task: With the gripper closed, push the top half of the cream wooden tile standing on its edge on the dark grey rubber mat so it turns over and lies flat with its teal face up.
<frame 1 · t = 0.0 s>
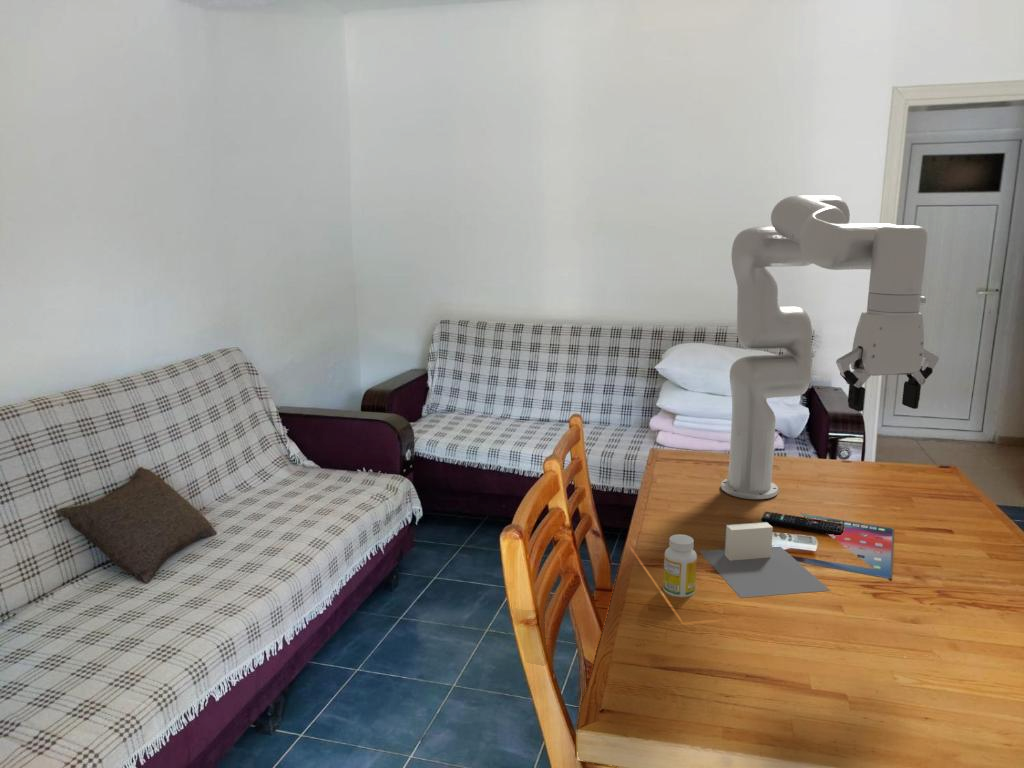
hand: (882, 408, 123), 31 cm above the table, tool pointing down, fingers open, 9 cm apart
supplement bottle: (679, 592, 127), on the table
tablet: (837, 546, 145), on the table
mat: (760, 571, 134), on the table
tile: (747, 556, 139), resting on mat
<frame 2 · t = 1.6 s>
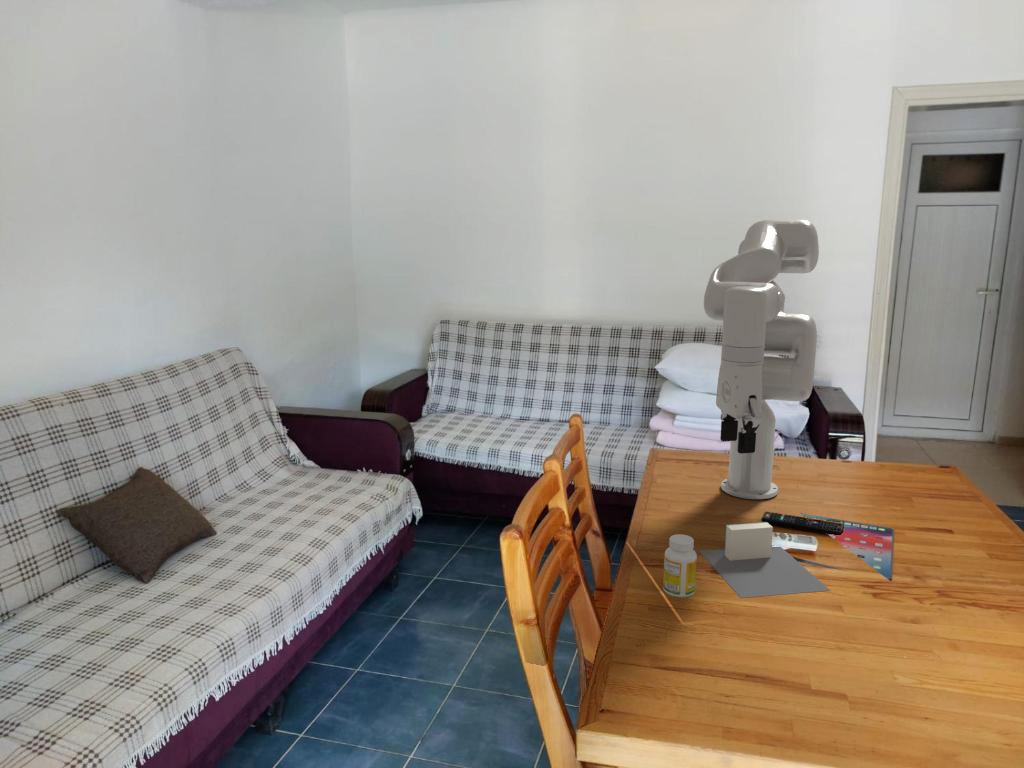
hand: (737, 445, 142), 20 cm above the table, tool pointing down, fingers open, 6 cm apart
nothing on the table moved.
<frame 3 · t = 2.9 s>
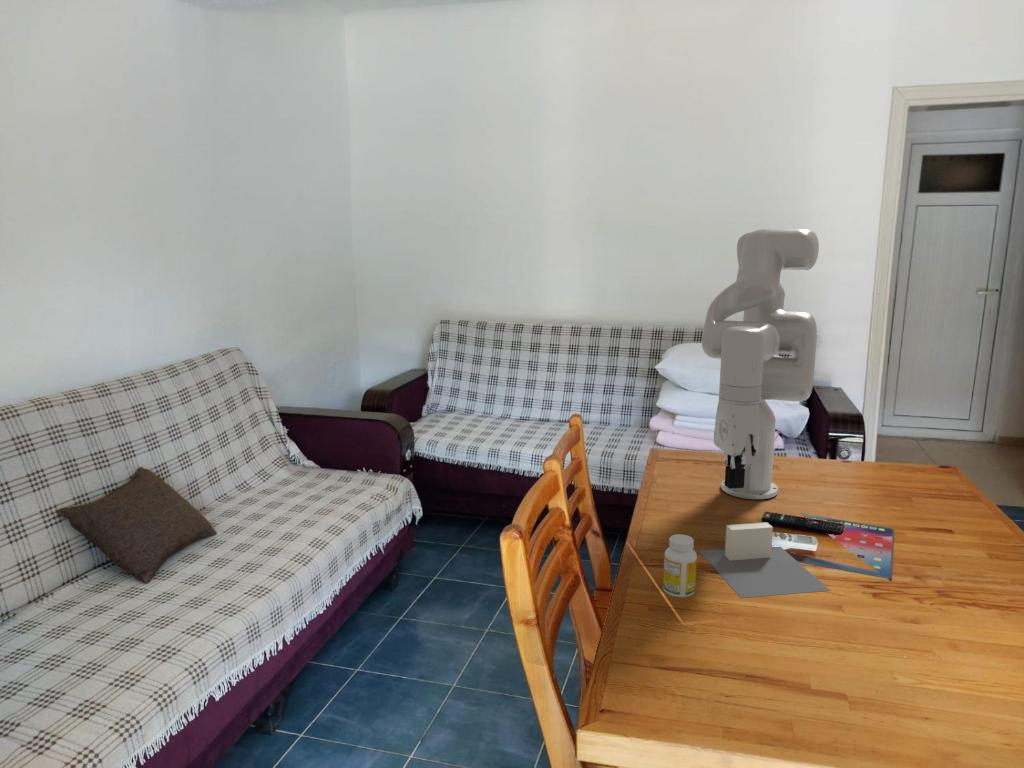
hand: (734, 486, 143), 12 cm above the table, tool pointing down, fingers closed
nothing on the table moved.
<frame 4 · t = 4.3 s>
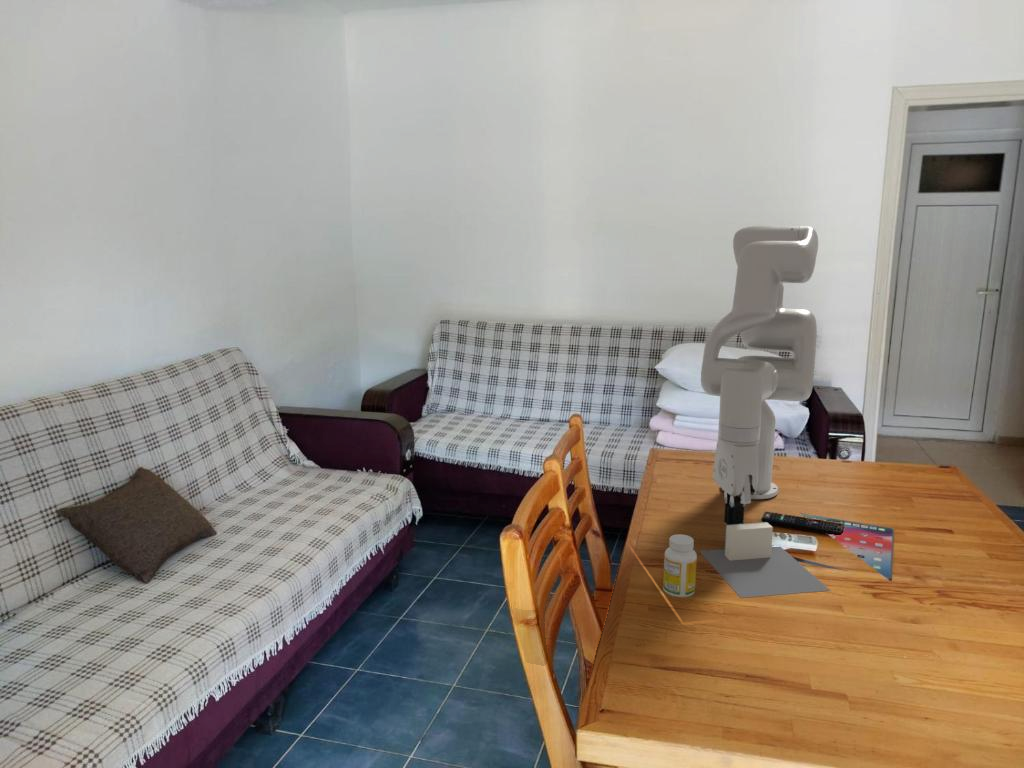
hand: (733, 523, 145), 4 cm above the table, tool pointing down, fingers closed
nothing on the table moved.
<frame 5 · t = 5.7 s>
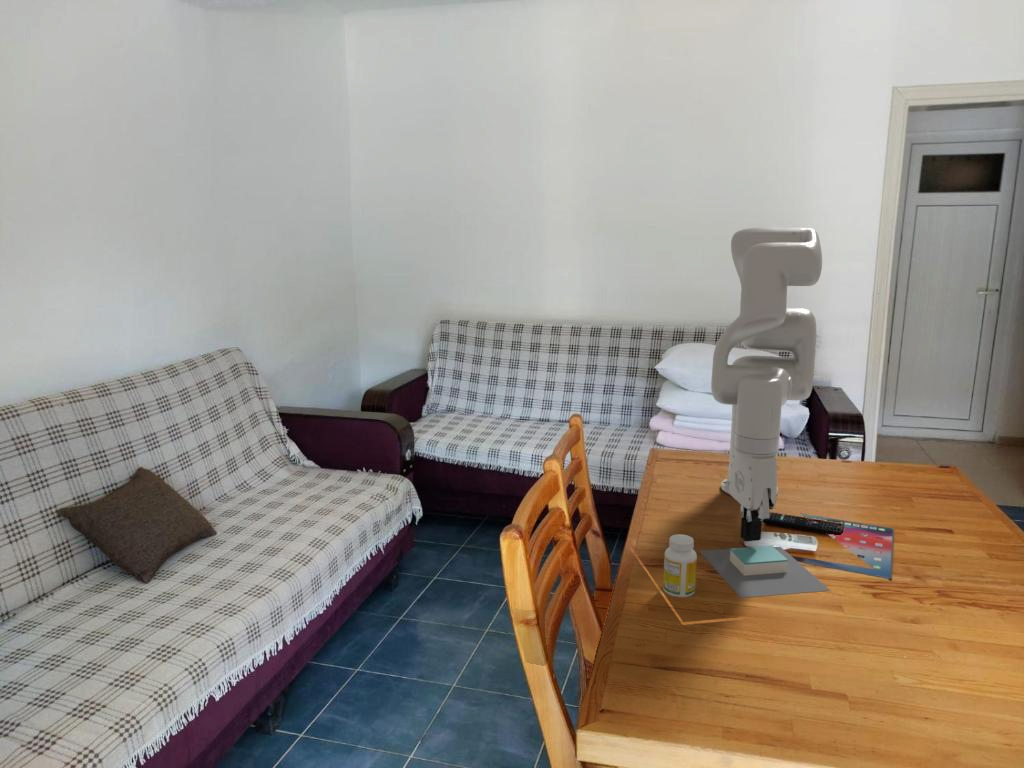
hand: (750, 538, 137), 4 cm above the table, tool pointing down, fingers closed
tile: (750, 553, 138), point 2 cm above the table, tilted 90°, touching mat
everything else where it was.
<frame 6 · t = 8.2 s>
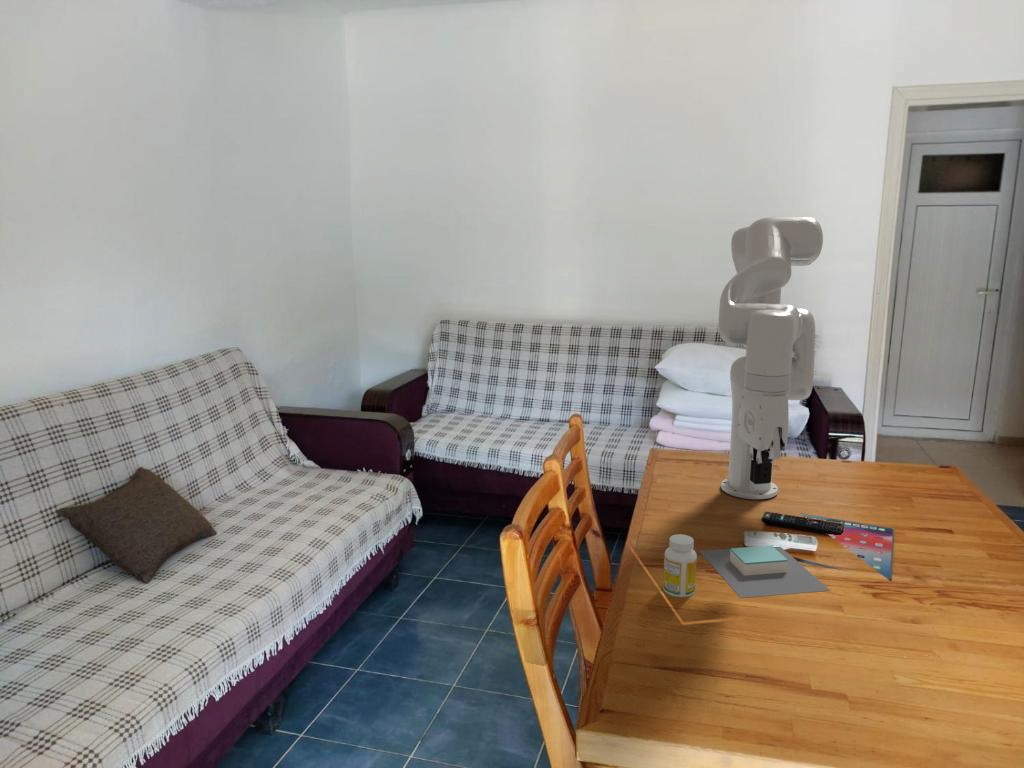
hand: (760, 481, 133), 16 cm above the table, tool pointing down, fingers closed
nothing on the table moved.
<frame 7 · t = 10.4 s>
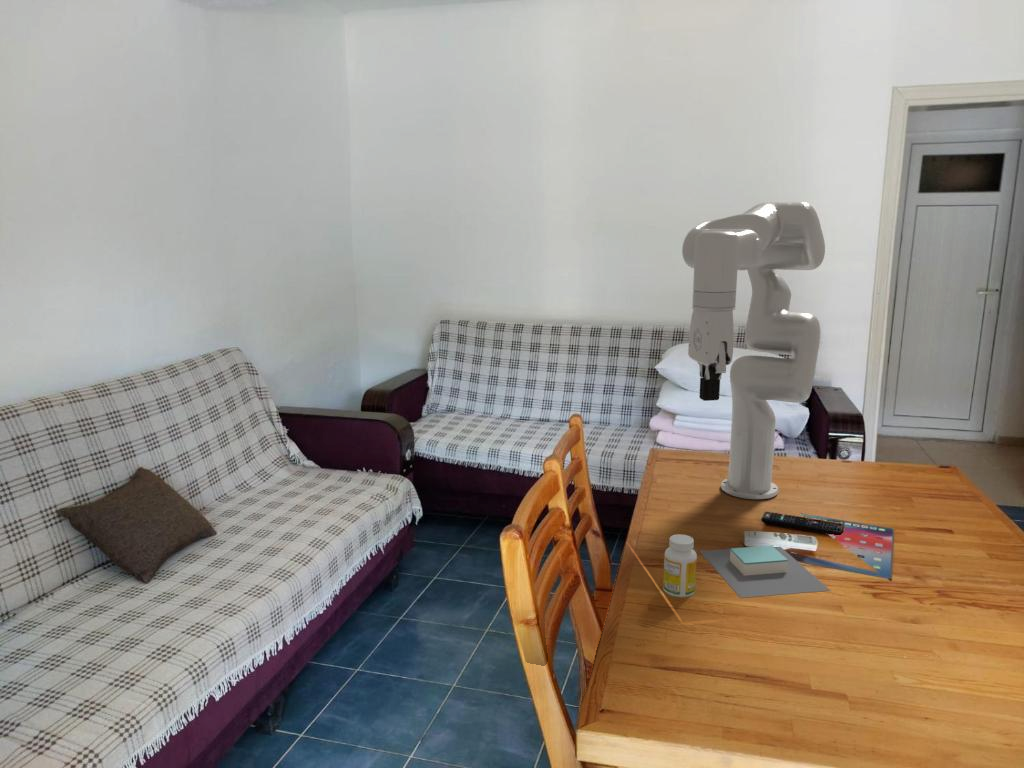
hand: (709, 399, 139), 29 cm above the table, tool pointing down, fingers closed
nothing on the table moved.
at the end: tile tilted 90°; tile inside the target area (2.8 cm from its centre), point 1.6 cm above the table; tile touching mat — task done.
